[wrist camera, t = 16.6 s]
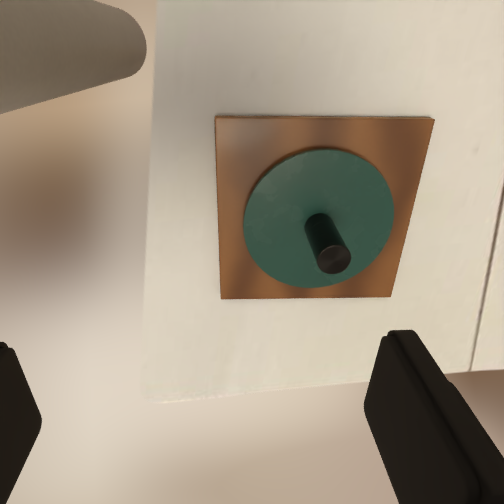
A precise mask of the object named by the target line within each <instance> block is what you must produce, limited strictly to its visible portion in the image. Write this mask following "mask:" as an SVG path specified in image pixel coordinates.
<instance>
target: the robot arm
mask: <svg viewBox="0 0 504 504" xmlns="http://www.w3.org/2000/svg"><path fill="white" fill-rule="evenodd" d="M364 412H365V416H366V418H367V421H368V424H369V426H370V429H371V432H372V434H373V437H374V439H375V442H376V444H377V447H378V450H379V452H380V455H381V458H382V460H383V463H384V465H385V468H386V470H387V473H388V476H389V478H390V481H391V484H392V486H393V489H394V491H395V494H396V497H397V499H398V502H399V504H504V458H503V456H502V455H501V453H500V452H499V450H498V449H497V447H496V446H495V444H494V443H493V441H492V440H491V438H490V437H489V435H488V434H487V432H486V431H485V430H484V428H483V427H482V425H481V424H480V422H479V421H478V419H477V418H476V416H475V415H474V413H473V412H472V410H471V409H470V407H469V406H468V404H467V403H466V402H465V400H464V398H463V397H462V395H461V394H460V393H459V391H458V390H457V388H456V387H455V386H454V385H453V384H452V383H451V382H449V381H448V380H447V379H446V377H445V375H444V374H443V372H442V371H441V369H440V368H439V366H438V365H437V363H436V362H435V360H434V359H433V357H432V356H431V354H430V353H429V351H428V350H427V348H426V347H425V345H424V344H423V342H422V341H421V339H420V338H419V336H418V335H417V334H416V332H415V331H413V330H392V331H389V332H388V334H387V336H383V337H382V339H381V342H380V346H379V350H378V353H377V357H376V361H375V364H374V368H373V371H372V375H371V379H370V382H369V386H368V390H367V393H366V397H365V401H364ZM41 423H42V418H41V414H40V412H39V410H38V407H37V405H36V402H35V400H34V397H33V395H32V392H31V390H30V388H29V385H28V383H27V380H26V378H25V375H24V373H23V370H22V368H21V366H20V363H19V361H18V358H17V356H16V353H15V351H14V350H13V349H12V348H8V346H7V344H6V343H4V342H0V504H6V502H7V500H8V498H9V496H10V494H11V491H12V490H13V488H14V485H15V483H16V481H17V479H18V477H19V475H20V472H21V470H22V468H23V466H24V464H25V462H26V459H27V457H28V455H29V453H30V451H31V449H32V447H33V445H34V443H35V440H36V438H37V436H38V434H39V432H40V429H41Z"/></svg>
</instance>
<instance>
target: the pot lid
mask: <svg viewBox="0 0 504 504" xmlns="http://www.w3.org/2000/svg"><path fill="white" fill-rule="evenodd" d="M393 220H394V203H393V197H392V194H391V191H390V188H389V186H388V184H387V182H386V180H385V179H384V178H383V176H382V175H381V173H380V172H379V171H378V170H377V169H376V168H375V167H374V166H373V165H371V164H370V163H369V162H367V161H366V160H365V159H363V158H361V157H359V156H357V155H355V154H353V153H350V152H347V151H343V150H338V149H327V148H325V149H313V150H308V151H303V152H300V153H297V154H294V155H292V156H290V157H288V158H286V159H284V160H282V161H281V162H279V163H278V164H276V165H275V166H273V167H272V168H271V169H270V170H269V171H267V172H266V173H265V174H264V176H263V177H262V178H261V179H260V180H259V181H258V183H257V184H256V185H255V187H254V188H253V190H252V192H251V194H250V196H249V198H248V201H247V204H246V207H245V211H244V217H243V232H244V239H245V243H246V246H247V249H248V251H249V253H250V255H251V257H252V259H253V260H254V261H255V263H256V264H257V265H258V266H259V267H260V268H261V269H262V270H263V271H264V272H265V273H266V274H268V275H269V276H270V277H272V278H274V279H276V280H277V281H280V282H282V283H285V284H288V285H291V286H295V287H302V288H319V287H326V286H331V285H334V284H338V283H340V282H343V281H345V280H348V279H350V278H351V277H353V276H355V275H357V274H358V273H360V272H361V271H363V270H364V269H365V268H366V267H367V266H369V265H370V264H371V263H372V262H373V261H374V260H375V259H376V257H377V256H378V255H379V254H380V252H381V251H382V249H383V248H384V246H385V244H386V243H387V240H388V238H389V236H390V233H391V230H392V226H393Z"/></svg>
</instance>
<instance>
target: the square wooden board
mask: <svg viewBox="0 0 504 504" xmlns="http://www.w3.org/2000/svg"><path fill="white" fill-rule="evenodd" d="M214 119H215V147H216V176H217V204H218V233H219V261H220V290H221V299H279V298H359V297H391V294H392V290H393V286H394V282H395V278H396V274H397V270H398V266H399V262H400V258H401V254H402V250H403V246H404V242H405V238H406V234H407V230H408V226H409V222H410V218H411V214H412V210H413V206H414V202H415V197H416V193H417V189H418V185H419V181H420V177H421V173H422V169H423V165H424V161H425V157H426V153H427V149H428V145H429V141H430V137H431V133H432V129H433V125H434V121H435V119H432V118H430V117H331V116H215V118H214ZM325 148H327V149H338V150H343V151H347V152H350V153H353V154H355V155H357V156H359V157H361V158H363V159H365V160H366V161H367V162H369V163H370V164H371V165H373V166H374V167H375V168H376V169H377V170H378V171H379V172H380V173H381V175H382V176H383V178H384V179H385V180H386V182H387V184H388V186H389V188H390V191H391V194H392V197H393V203H394V220H393V226H392V230H391V233H390V236H389V238H388V240H387V243H386V244H385V246H384V248H383V249H382V251H381V252H380V254H379V255H378V256H377V257H376V259H375V260H374V261H373V262H372V263H371V264H370V265H369V266H367V267H366V268H365V269H364V270H363V271H361V272H360V273H358V274H357V275H355V276H353V277H351V278H350V279H348V280H345V281H343V282H340V283H338V284H334V285H331V286H326V287H319V288H302V287H295V286H291V285H288V284H285V283H282V282H280V281H277V280H276V279H274V278H272V277H270V276H269V275H268V274H266V273H265V272H264V271H263V270H262V269H261V268H260V267H259V266H258V265H257V264H256V263H255V261H254V260H253V259H252V257H251V255H250V253H249V251H248V249H247V246H246V243H245V239H244V232H243V217H244V211H245V207H246V204H247V201H248V198H249V196H250V194H251V192H252V190H253V188H254V187H255V185H256V184H257V183H258V181H259V180H260V179H261V178H262V177H263V176H264V174H265V173H266V172H267V171H269V170H270V169H271V168H272V167H273V166H275V165H276V164H278V163H279V162H281V161H282V160H284V159H286V158H288V157H290V156H292V155H294V154H297V153H300V152H303V151H308V150H313V149H325Z"/></svg>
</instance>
